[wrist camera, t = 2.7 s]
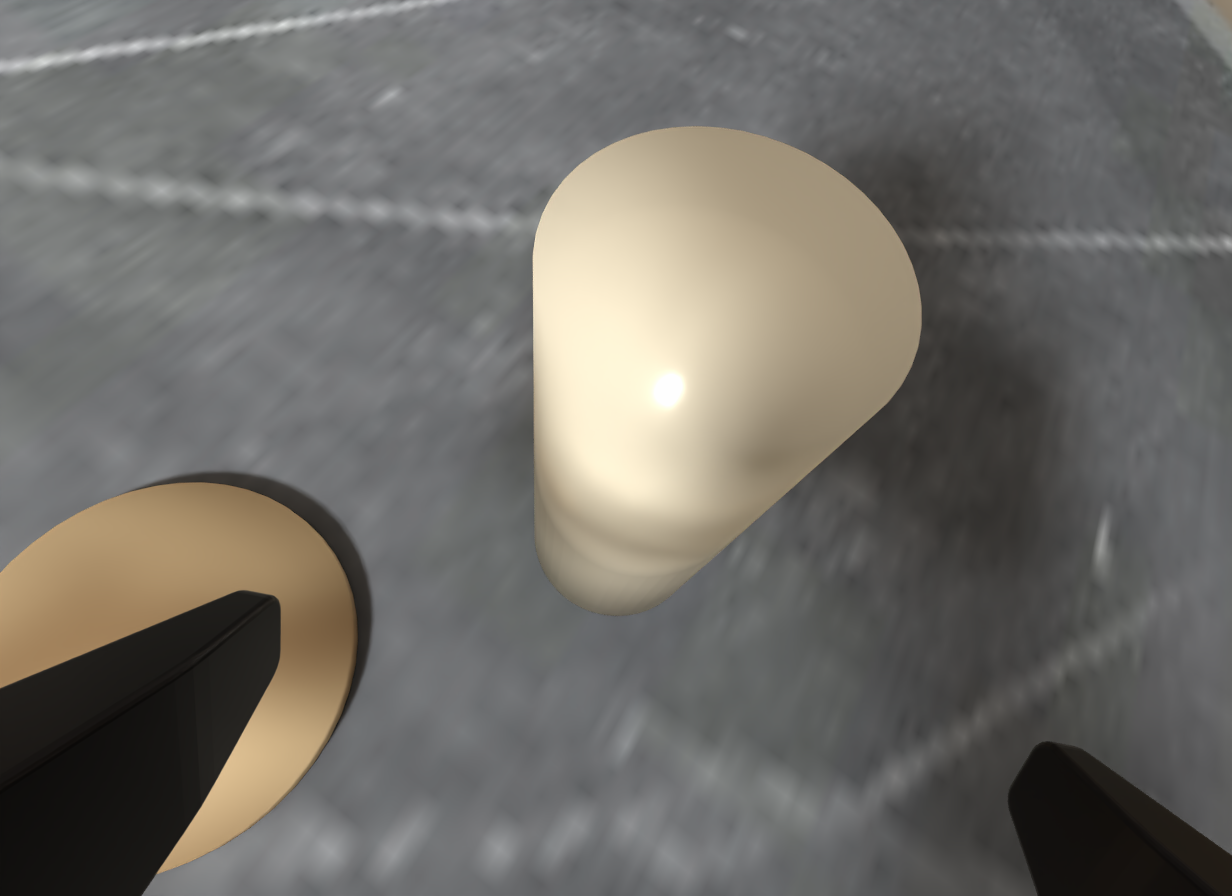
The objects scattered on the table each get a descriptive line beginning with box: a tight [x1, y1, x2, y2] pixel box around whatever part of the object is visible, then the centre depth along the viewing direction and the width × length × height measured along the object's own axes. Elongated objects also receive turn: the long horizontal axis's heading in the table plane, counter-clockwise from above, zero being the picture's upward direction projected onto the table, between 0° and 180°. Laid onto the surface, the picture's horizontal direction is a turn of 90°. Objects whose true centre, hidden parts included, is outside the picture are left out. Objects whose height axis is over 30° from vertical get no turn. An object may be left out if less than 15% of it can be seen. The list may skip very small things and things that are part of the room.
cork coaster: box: [0, 482, 358, 874], centre depth 17 cm, size 10×10×1 cm
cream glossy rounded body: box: [533, 126, 922, 616], centre depth 14 cm, size 5×5×13 cm
